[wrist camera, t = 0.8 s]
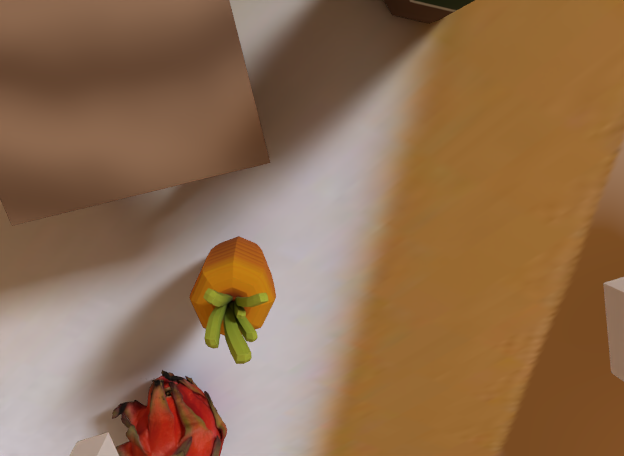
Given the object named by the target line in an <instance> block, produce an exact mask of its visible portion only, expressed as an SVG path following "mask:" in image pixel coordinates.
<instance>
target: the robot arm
mask: <svg viewBox="0 0 624 456" xmlns="http://www.w3.org/2000/svg"><path fill="white" fill-rule="evenodd" d="M604 294H605V306H606V316H607V329H608V340H609V352H610V363H611V372H612V373H613V374H614V375H616V376H617V377H618V378H620V379H621V380H623V381H624V277H622V278H619V279H616V280H612V281H609V282H605V283H604ZM70 456H119V454H118V452H117V450H116V448H115V445H114V443H113V441H112V439H111V437H110V434H109V432H108V433H104V434H101V435H98V436H94V437H91V438H88V439H84V440H81V441H78V442H77V443H76V445H75V447H74V449H73V450H72V452H71V454H70Z"/></svg>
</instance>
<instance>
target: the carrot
mask: <svg viewBox="0 0 624 456" xmlns="http://www.w3.org/2000/svg"><path fill="white" fill-rule="evenodd" d="M275 298H276V294H275V288H274V283H273V279H272V275H271V272H270V270H269V267H268V265H267V262H266V260H265V257H264V254H263V252H262V250H261V249H260V247H259V246H258V245H257V244H255V243H253V242H251V241H248V240H246V239H244V238H241V237H236V238H233V239H230V240H228V241H225V242H222V243H220V244H218V245H216V246H215V247H214V248H213V249H211V251H210V253H209V255H208V256H207V258H206V261H205V263H204V265H203V267H202V269H201V272H200V274H199V276H198V278H197V280H196V283H195V285H194V287H193V289H192V291H191V294H190V300H191V302H192V305H193V307H194V309H195V311H196V313H197V315H198V318H199V320H200V322H201V324H202V326H203V328H206V333H205V342H206V344H207V346H208V347H211V348H218V345H219V338H220V334H222V335H225V338H226V342H227V344H228V347H229V350H230V352H231V354H232V356H233V358H234V360H235V362H236V364H244V363H246V362H248V361H250V359H251V358H252V357H251V352H250V350H249V348H248V345H247V343H246V341H249V342H253V341H255V340H256V339H257V333H256V331H255V329H258V328H261V327H262V325H263V323H264V321H265V319H266V317H267V315H268V313H269V311H270V309H271V307H272V305H273V303H274V300H275ZM242 335H243V336H244V338H245V340H246V341H245V340H244V338H243V336H242Z"/></svg>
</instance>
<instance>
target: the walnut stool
mask: <svg viewBox="0 0 624 456" xmlns="http://www.w3.org/2000/svg"><path fill="white" fill-rule="evenodd" d="M267 163H270V160H269V156H268V152H267V148H266V144H265V140H264V136H263V132H262V128H261V124H260V120H259V116H258V112H257V108H256V104H255V100H254V96H253V92H252V89H251V85H250V81H249V77H248V73H247V69H246V65H245V61H244V57H243V53H242V49H241V45H240V41H239V37H238V33H237V29H236V25H235V21H234V17H233V13H232V9H231V6H230V2H229V0H0V199H1V201H2V204H3V206H4V208H5V211H6V213H7V215H8V218H9V220H10V222H11V225H16V224H21V223H25V222H29V221H33V220H37V219H41V218H45V217H49V216H53V215H57V214H62V213H66V212H70V211H74V210H78V209H82V208H86V207H90V206H94V205H99V204H103V203H107V202H111V201H115V200H119V199H123V198H127V197H131V196H136V195H140V194H144V193H148V192H152V191H156V190H160V189H164V188H168V187H173V186H177V185H181V184H185V183H189V182H193V181H197V180H201V179H205V178H209V177H214V176H218V175H222V174H226V173H230V172H234V171H238V170H242V169H246V168H251V167H255V166H259V165H263V164H267Z"/></svg>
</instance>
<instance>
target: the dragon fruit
mask: <svg viewBox="0 0 624 456" xmlns="http://www.w3.org/2000/svg"><path fill="white" fill-rule="evenodd" d="M161 373H162V376H160V377H159V378H157V379H155V380H152V382H153V383H152V385H151V387H150V389H149V394H148V403H147V406H144V405H143V404H141V403H140V402H139V401H137V400H134V402H125V403H122V404H120V405H119V406H118V407H117V408H115V409H114V411H113V415H112V419H113V418H116V417H117V416H118V415H120V414H122V418H121V420H122V422H123V423H124V424H125V425H126V426H127V427H128V431H127V432H126V436H127V438H128V439H129V440H130V441H129V442H126V443H124V444H122V445H119V446H117V447H115V448H116V450H117V452H118V454H119V456H220V453H221V450H222V445H223V441H224V438H225V437H226V434H227V428H226V425H225V424H224V422H223V421H222V419H221V417H220V416H219V414H218V413H217V410H216V408H215V407H214V405H213V402H212V400H211V398H210V396H209V394H208V393H207V392H206V391H204V393H205V394H204V393H203V392H202V390H201V389H199V388H198V387H197V385H196V384H195V383H194V382H193V380H192V378H188V377H186V376H185V377H186V379H187V380H186V379H184V378H182V377H178V376H174V374H173V373H167V372H165V371H163V370H162V372H161ZM126 416H127V417H128V419H129V420H128V419H127V418H126ZM129 421H130V422H129Z"/></svg>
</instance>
